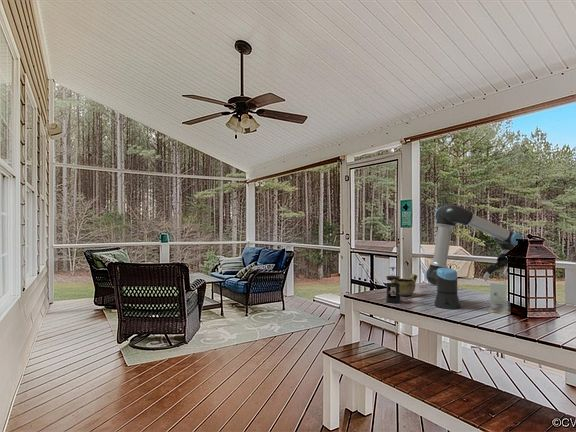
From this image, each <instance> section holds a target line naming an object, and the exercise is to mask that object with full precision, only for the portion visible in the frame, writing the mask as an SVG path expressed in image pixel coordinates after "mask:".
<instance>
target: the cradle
mask: <svg viewBox="0 0 576 432" xmlns="http://www.w3.org/2000/svg"><path fill="white" fill-rule="evenodd" d="M487 312H488V313H491V314H503V315H510V314H511V302H510V301H509V300H506V304H497V303H490V302H489V307H487Z"/></svg>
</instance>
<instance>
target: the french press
mask: <svg viewBox="0 0 576 432" xmlns="http://www.w3.org/2000/svg"><path fill="white" fill-rule="evenodd" d="M389 269H391V271H395V269H396V266H395V267H394V266H391V267H389ZM393 279H398V280H399V279H401V276H399V275H394V276H390V275H386V280H387V281H390V282H387V283H385V286H386V299H385V303H388V304H394V305H395V304H401V302H402V301H401V295H400V284H398V283H391V280H393ZM392 287H396V291H394V290H393V289H392ZM391 289H392V290H391Z"/></svg>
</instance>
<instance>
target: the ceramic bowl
mask: <svg viewBox="0 0 576 432" xmlns="http://www.w3.org/2000/svg"><path fill="white" fill-rule="evenodd" d="M389 276H395V274H390V275H389ZM417 279H418V275H417V274H414V273H412V274H410V276H409V278H399V280H398V279H393V280H391V281H390V283H398V284H400V297H402V296H403V297H408V296H410V295H412V294H413V293H414V292H415V290H416V282H417ZM391 289H392V291H393V290H394V291H396V287H391Z"/></svg>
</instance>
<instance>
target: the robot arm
mask: <svg viewBox="0 0 576 432" xmlns="http://www.w3.org/2000/svg"><path fill="white" fill-rule="evenodd" d="M434 217H435V220H436V224H435V225H436V226H437V233H436V239H435V246H434V252H433V258H432V262H431V263H429V268H427V269H426V272H425V279H426V280H427V282H428V283H429V284H431V285H433V286H435V287H436V292H437V294H436V296H435V300H434V306H435V307H436V308H438V309H439V308H440V309H447V310H457V309H458V310H459V309H461V307H462V303H461V301H460V298H459V295H458V272H457V270H456V269H453V268H450V267H449V266H448V265H447V263H448V257H449V252H450V245H451V244H450V243H451V239H452V231H453V229H454V228H456V224H461V225H463V226H469V227H471V228H473V229H476V230H477V231H479V232H483V233H485V234H487V235H489V236H491V238H492V239H493V240H494V241H495V243H496V244H497V245H498V247H499V248H500V249H501V251H500V253H499V255H498V257H497V259H496V262H495V263H494V262H492V263H490V265H489V266H488V267H487V268H486V269H484V271H483V274H484V275H483V277H482V278H483V280H484V281H485V282H487V281H488V279H490V278H489V277H490V276H491V274H492V273H493V272H495V271H497V270H499V269H501V268H504V267H505V269H504V270H503V273H502V274H503V275H504V276H505V278H506V277H508V275H509V274H508V267H507V258H506V257H505V256H504V255H505V254H506V253H507V252H508V251H510V250H511V249H512V248H513V247H514V246H516V245H517V241H516V239H523V240H524V235H522V234H521V233H518V232H513V231H511V230H509V229H506V228H504V227H503V226H500V225H498V224H496V223H494V222H491V221H489V220H487V219H485V218H482V217H480V216H478V215H476V214H475V213H474V212H473V211H472V210H469V209H466V208H464V207H463V206H460V205H457V204H450V205H447V204H446V205H442V206H440V207H439V208H437V209H436V211H435V214H434Z"/></svg>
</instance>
